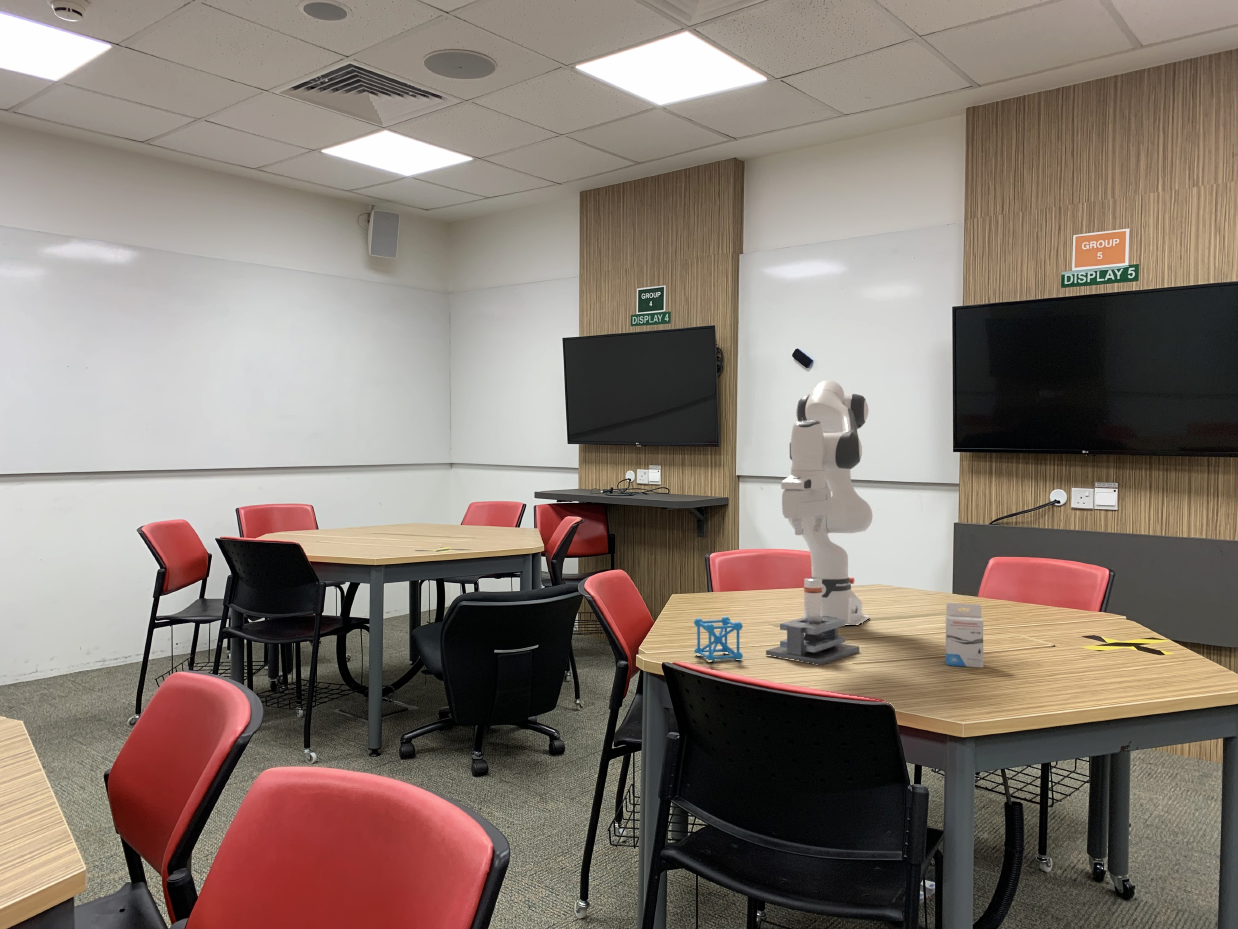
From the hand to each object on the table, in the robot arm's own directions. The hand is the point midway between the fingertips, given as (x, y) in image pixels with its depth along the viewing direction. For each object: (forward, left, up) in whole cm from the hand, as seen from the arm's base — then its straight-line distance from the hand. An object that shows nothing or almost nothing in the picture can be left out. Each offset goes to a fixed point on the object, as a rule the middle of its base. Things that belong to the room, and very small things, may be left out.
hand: (808, 533), depth 228 cm
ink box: (-12, +36, -32) cm, 50 cm away
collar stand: (+2, +2, -31) cm, 32 cm away
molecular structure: (+22, -14, -32) cm, 41 cm away
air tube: (+2, +2, -30) cm, 30 cm away
